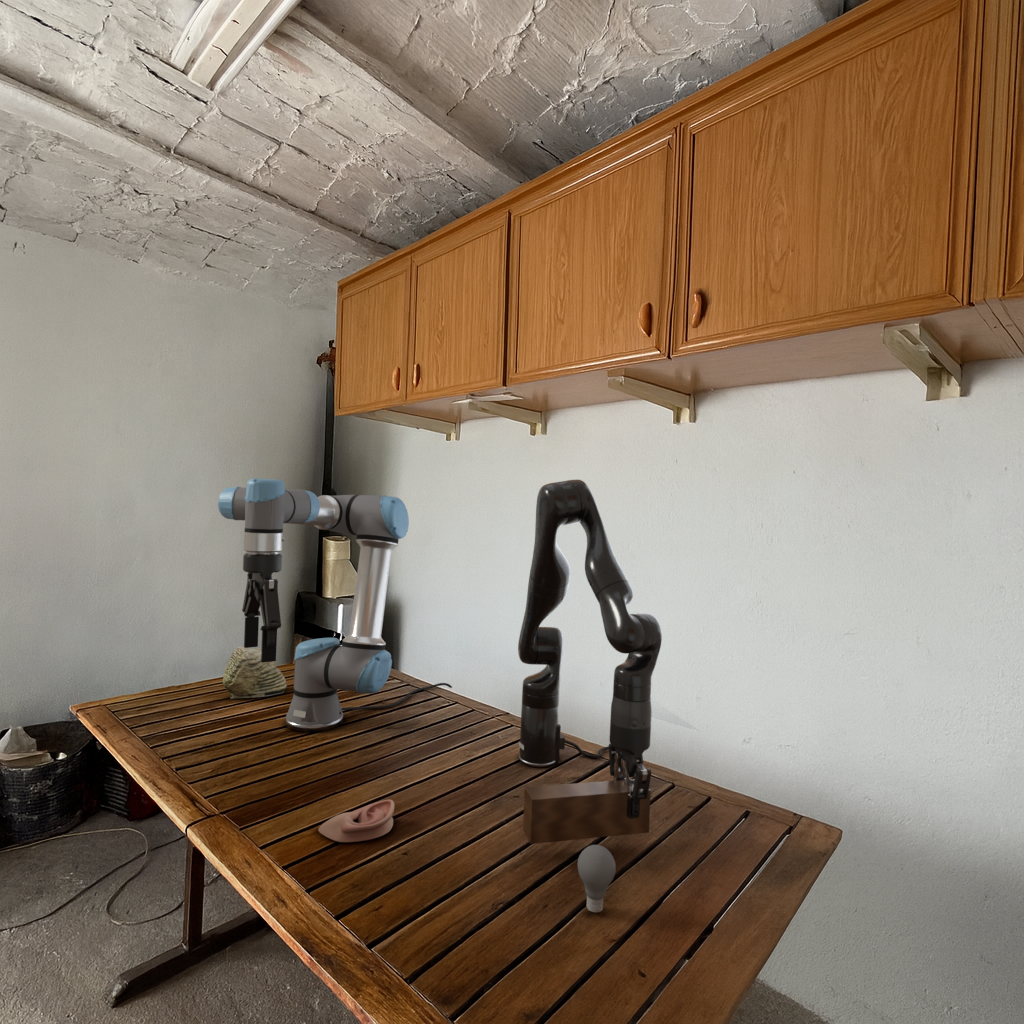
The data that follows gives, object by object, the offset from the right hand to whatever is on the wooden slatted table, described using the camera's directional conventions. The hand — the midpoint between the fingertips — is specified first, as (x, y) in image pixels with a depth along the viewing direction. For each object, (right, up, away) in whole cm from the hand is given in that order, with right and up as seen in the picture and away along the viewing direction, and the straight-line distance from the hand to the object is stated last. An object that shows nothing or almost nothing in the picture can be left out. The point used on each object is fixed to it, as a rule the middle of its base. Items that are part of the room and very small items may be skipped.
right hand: (626, 809), depth 119 cm
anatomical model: (-51, -5, +3) cm, 52 cm away
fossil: (-102, -1, +79) cm, 129 cm away
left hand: (-74, +26, +13) cm, 80 cm away
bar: (-8, -3, -2) cm, 9 cm away
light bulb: (-8, -7, -19) cm, 22 cm away
